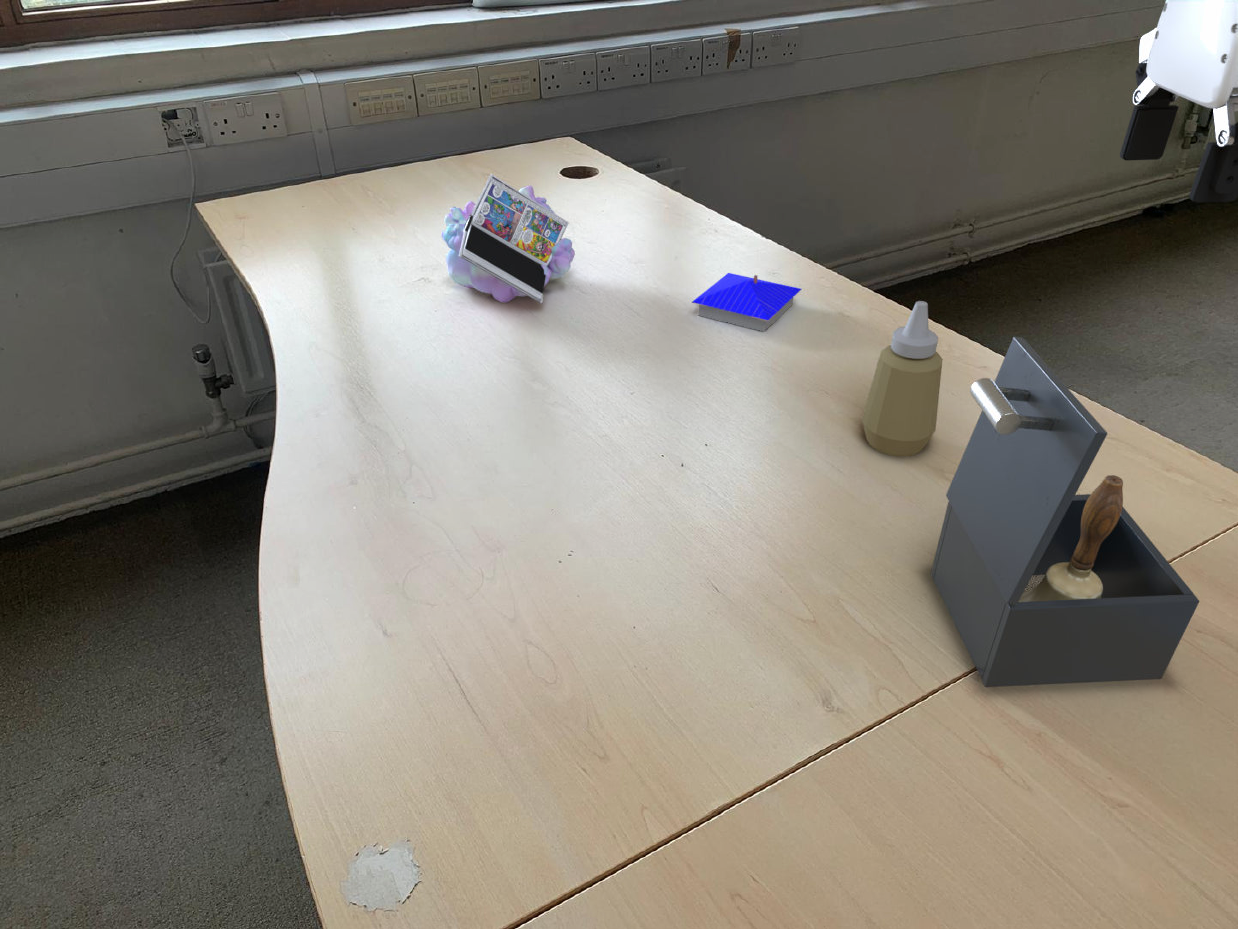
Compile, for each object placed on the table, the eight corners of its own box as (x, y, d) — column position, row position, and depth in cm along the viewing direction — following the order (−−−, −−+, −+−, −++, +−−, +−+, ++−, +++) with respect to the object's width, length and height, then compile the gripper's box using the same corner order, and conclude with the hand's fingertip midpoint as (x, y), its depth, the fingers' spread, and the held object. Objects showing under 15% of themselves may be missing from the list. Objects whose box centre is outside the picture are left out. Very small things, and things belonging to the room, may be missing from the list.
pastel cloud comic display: (516, 217, 153) (464, 137, 138) (617, 238, 141) (573, 154, 127) (452, 311, 147) (391, 239, 133) (553, 341, 136) (498, 265, 121)
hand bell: (1128, 631, 78) (1193, 483, 69) (1073, 674, 74) (1134, 524, 65) (1043, 578, 84) (1092, 435, 74) (987, 616, 80) (1032, 470, 70)
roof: (766, 335, 126) (770, 300, 123) (691, 316, 131) (692, 282, 128) (800, 303, 134) (803, 269, 131) (727, 286, 139) (729, 253, 136)
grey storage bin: (1081, 575, 85) (1112, 493, 79) (1157, 687, 74) (1200, 601, 68) (928, 582, 85) (948, 499, 79) (982, 696, 73) (1010, 609, 68)
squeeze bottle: (920, 476, 98) (952, 327, 88) (848, 456, 102) (871, 310, 91) (938, 440, 104) (970, 296, 94) (869, 422, 107) (893, 281, 97)
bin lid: (1023, 337, 70) (962, 330, 69) (1108, 433, 59) (1037, 426, 58) (954, 496, 79) (899, 491, 78) (1016, 605, 68) (954, 601, 67)
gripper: (1427, -79, 50) (1298, 217, 60) (1240, -100, 65) (1160, 144, 74) (1296, -76, 50) (1189, 221, 60) (1137, -97, 64) (1071, 146, 74)
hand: (1173, 178), depth 67 cm, fingers open, 9 cm apart
